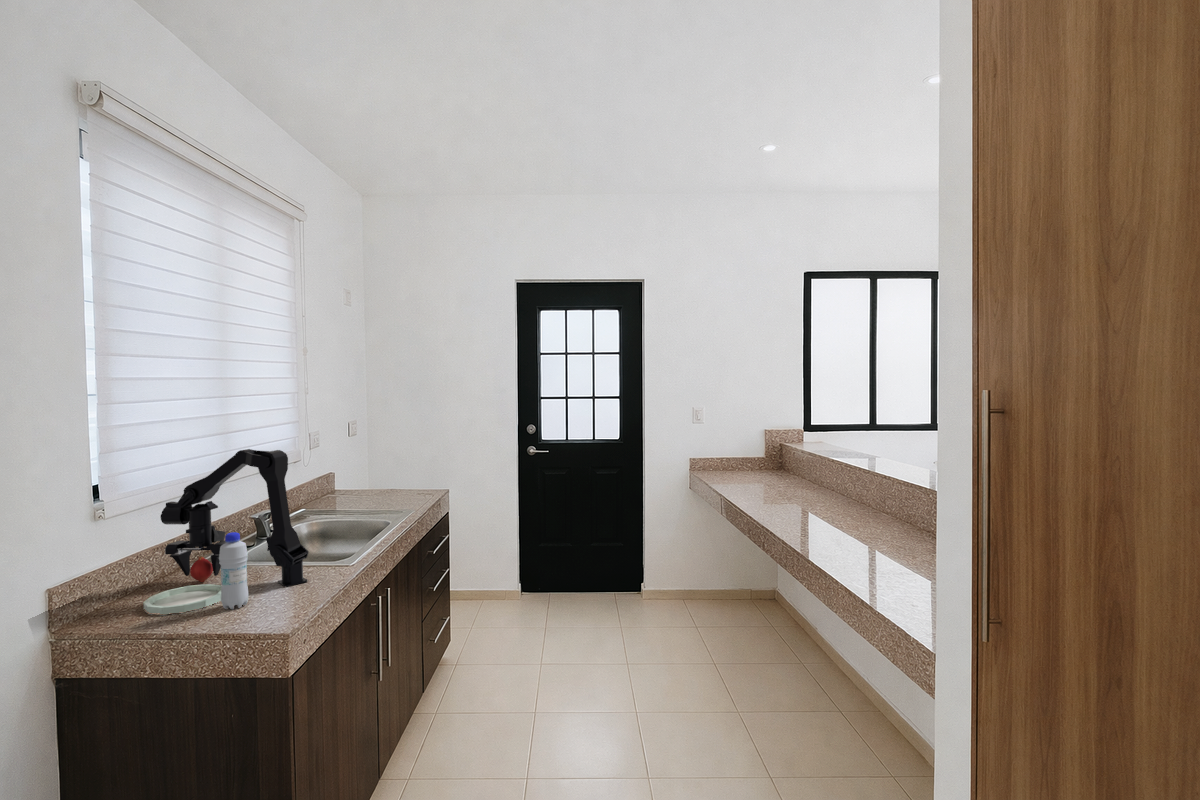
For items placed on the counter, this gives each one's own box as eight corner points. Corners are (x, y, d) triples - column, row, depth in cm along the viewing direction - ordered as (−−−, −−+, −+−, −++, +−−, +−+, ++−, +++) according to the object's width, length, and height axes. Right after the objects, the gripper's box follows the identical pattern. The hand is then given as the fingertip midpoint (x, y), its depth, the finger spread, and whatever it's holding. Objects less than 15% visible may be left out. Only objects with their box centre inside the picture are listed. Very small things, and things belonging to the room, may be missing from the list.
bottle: (228, 612, 159) (226, 536, 159) (215, 608, 163) (212, 533, 162) (254, 604, 165) (252, 531, 164) (241, 600, 168) (239, 528, 168)
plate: (233, 601, 168) (233, 593, 168) (153, 620, 155) (153, 612, 155) (214, 586, 180) (213, 580, 180) (138, 603, 167) (138, 596, 167)
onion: (197, 579, 188) (196, 553, 187) (217, 578, 188) (216, 552, 188) (186, 585, 182) (185, 559, 182) (206, 584, 182) (205, 558, 182)
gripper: (246, 518, 192) (248, 567, 192) (189, 518, 193) (191, 567, 193) (223, 526, 181) (225, 578, 181) (162, 526, 182) (164, 578, 182)
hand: (202, 575), depth 185 cm, fingers open, 9 cm apart
